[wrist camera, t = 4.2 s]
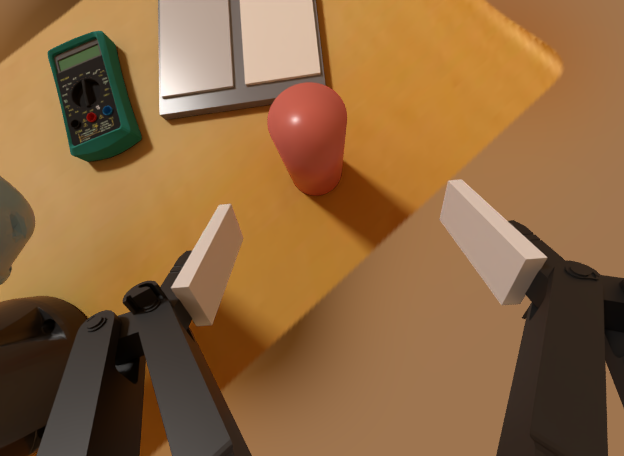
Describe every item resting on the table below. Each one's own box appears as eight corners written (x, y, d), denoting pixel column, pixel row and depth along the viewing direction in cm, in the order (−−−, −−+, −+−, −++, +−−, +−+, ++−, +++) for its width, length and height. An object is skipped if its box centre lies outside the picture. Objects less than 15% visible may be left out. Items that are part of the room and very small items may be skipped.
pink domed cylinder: (293, 198, 27) (270, 161, 17) (289, 150, 28) (264, 88, 18) (344, 192, 27) (351, 151, 17) (338, 143, 27) (342, 76, 17)
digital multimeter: (91, 168, 30) (65, 158, 27) (66, 66, 32) (39, 46, 29) (147, 146, 30) (127, 133, 27) (118, 44, 32) (97, 23, 29)
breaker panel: (165, 119, 29) (149, 106, 27) (163, -18, 32) (148, -42, 30) (326, 96, 28) (325, 80, 26) (310, -45, 31) (308, -72, 28)
